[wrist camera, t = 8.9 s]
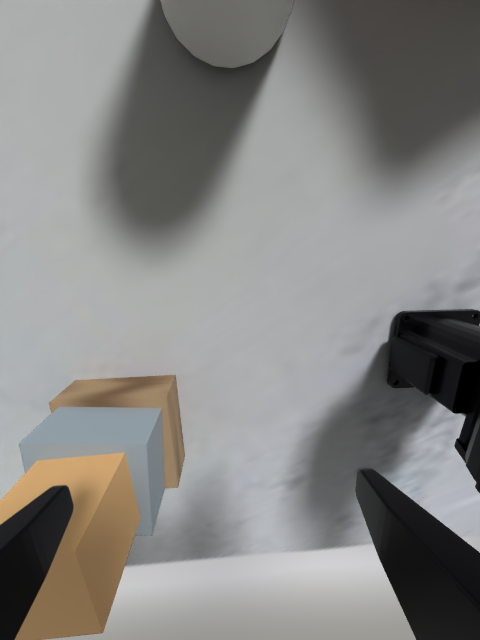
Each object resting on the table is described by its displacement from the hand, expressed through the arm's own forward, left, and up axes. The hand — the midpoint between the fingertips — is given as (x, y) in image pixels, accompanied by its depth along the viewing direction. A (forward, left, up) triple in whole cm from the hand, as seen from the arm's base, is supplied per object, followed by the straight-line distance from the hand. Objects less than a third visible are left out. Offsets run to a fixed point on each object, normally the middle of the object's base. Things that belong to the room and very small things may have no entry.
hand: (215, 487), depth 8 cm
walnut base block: (+8, +7, -13) cm, 17 cm away
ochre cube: (+8, +7, -6) cm, 12 cm away
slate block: (+8, +7, -10) cm, 14 cm away
